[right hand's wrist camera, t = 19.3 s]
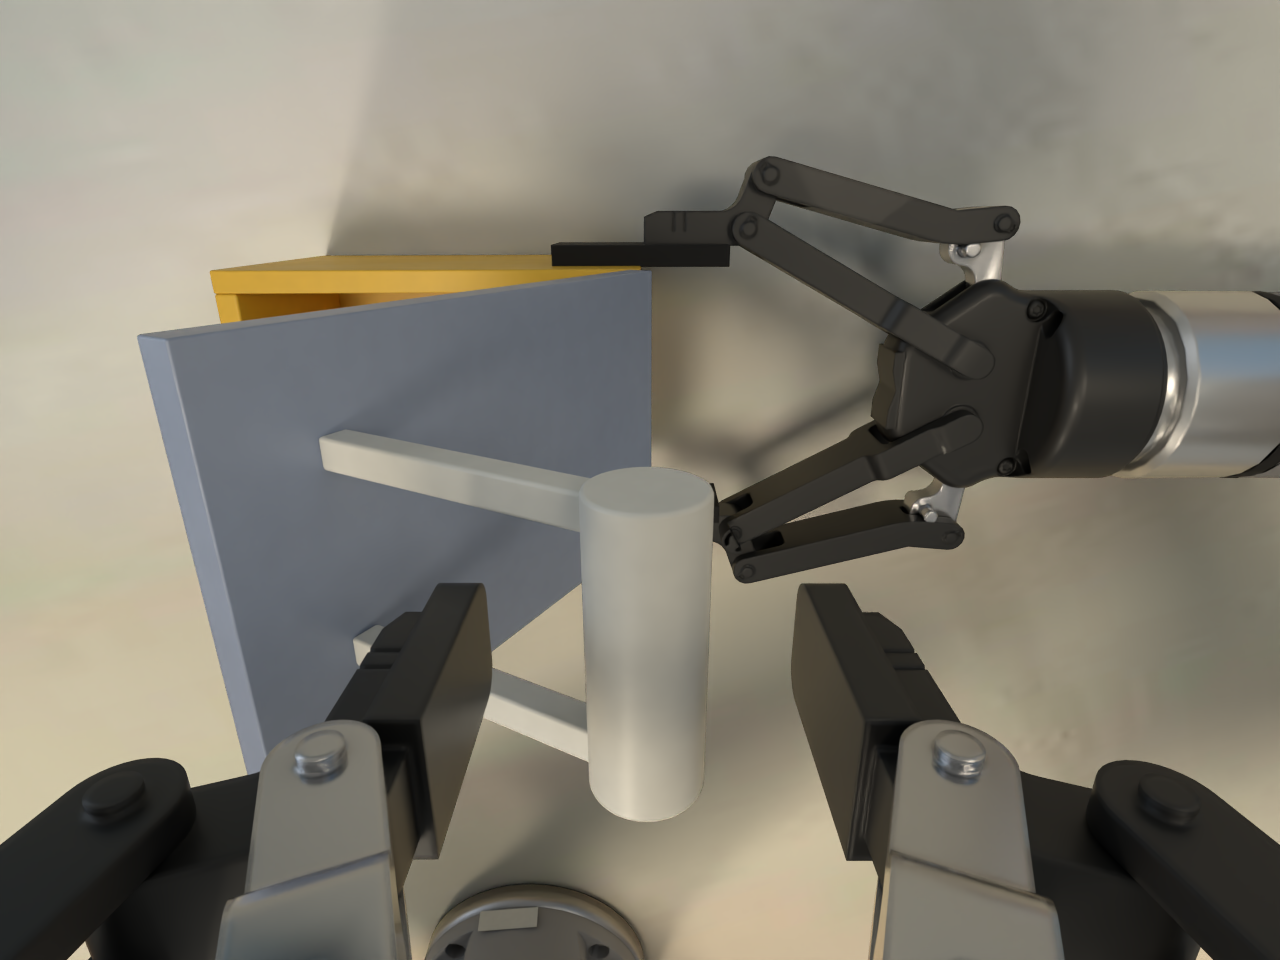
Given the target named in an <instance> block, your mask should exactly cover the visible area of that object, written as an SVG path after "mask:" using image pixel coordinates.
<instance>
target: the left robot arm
mask: <svg viewBox="0 0 1280 960" xmlns="http://www.w3.org/2000/svg"><path fill="white" fill-rule="evenodd" d="M775 201H780V202H783V203H787V204H790V205H793V206H797V207H800V208H804V209H807V210H811V211H814V212H818V213H821V214H825V215H828V216H831V217H835V218H838V219H842V220H845V221H849V222H852V223H856V224H859V225H863V226H866V227H869V228H873V229H876V230H880V231H883V232H887V233H890V234H894V235H897V236H901V237H904V238H907V239H912V240H916V241H922V242H932V243H940V246H939V251H940V256H941V258H942V259H943V260H944V261H945V262H947V263H950V264H956V265H958V266H960V267H961V268H962V269H963V271H964V274H965V280H964V281H963V282H961V283H959V284H958V285H956V286H955V287H953V288H952V289H950V290H949V291H947V292H946V293H945V294H943V295H942V296H940V297H939V298H937V299H936V300H934V301H933V302H931V303H930V304H928V305H927V306H925V307H924V308H922V309H921V310H920V309H918V308H917V307H915V306H913V305H912V304H910V303H908V302H906V301H904V300H902V299H900V298H898V297H896V296H895V295H893V294H891V293H890V292H888V291H886V290H885V289H883V288H881V287H880V286H878V285H876V284H875V283H873V282H871V281H870V280H868V279H866V278H865V277H863V276H861V275H860V274H858V273H856V272H855V271H853V270H851V269H850V268H848V267H846V266H845V265H843V264H841V263H840V262H838V261H836V260H835V259H833V258H831V257H830V256H828V255H826V254H825V253H823V252H821V251H820V250H818V249H816V248H815V247H813V246H811V245H810V244H808V243H806V242H805V241H803V240H801V239H800V238H798V237H796V236H795V235H793V234H791V233H790V232H788V231H786V230H785V229H783V228H781V227H780V226H778V225H776V224H775V223H773V222H771V221H770V220H768V219H769V216H770V214H771V211H772V209H773V206H774V204H775ZM1019 226H1020V215H1019V213H1018V211H1017V210H1016V209H1014V208H1013V207H1010V206H980V207H966V208H956V209H951V208H948V207H944V206H941V205H938V204H934V203H931V202H927V201H924V200H921V199H917V198H914V197H911V196H907V195H904V194H900V193H897V192H894V191H890V190H887V189H883V188H880V187H877V186H873V185H870V184H866V183H863V182H860V181H856V180H853V179H850V178H846V177H843V176H839V175H836V174H833V173H829V172H826V171H822V170H819V169H816V168H812V167H809V166H805V165H802V164H799V163H795V162H792V161H789V160H785V159H782V158H778V157H772V156H769V157H766V158H763V159H761V160H759V161H757V162H754V163H753V164H751V165H750V166H749V167H748V169H747V171H746V173H745V178H744V181H743V184H742V186H741V189H740V192H739V194H738V197H737V199H736V201H735V202H734V203H733V204H732V206H730V207H729V208H727V209H725V210H723V211H656V212H654V213H652V214H649V215H647V216H645V217H644V242H559V243H556V244H553V245H551V256H552V266H640V267H729V261H730V246H740V247H742V248H744V249H745V250H747V251H749V252H751V253H752V254H754V255H756V256H757V257H759V258H761V259H762V260H764V261H766V262H768V263H769V264H771V265H773V266H774V267H776V268H778V269H779V270H781V271H783V272H785V273H786V274H788V275H790V276H791V277H793V278H795V279H797V280H798V281H800V282H802V283H803V284H805V285H807V286H808V287H810V288H812V289H814V290H815V291H817V292H819V293H820V294H822V295H824V296H825V297H827V298H829V299H831V300H832V301H834V302H836V303H837V304H839V305H841V306H842V307H844V308H846V309H848V310H849V311H851V312H853V313H854V314H856V315H858V316H859V317H861V318H863V319H864V320H866V321H867V322H869V323H871V324H872V325H874V326H876V327H878V328H879V329H881V330H883V331H884V332H886V333H888V334H889V335H888V336H887V338H886V340H885V342H884V344H879V350H878V358H877V365H878V371H879V378H880V381H879V384H878V387H877V389H876V392H875V394H874V397H873V401H872V410H871V417H872V418H873V419H875V420H874V421H872V422H870V423H868V424H866V425H864V426H861V427H859V428H857V429H856V430H854V431H853V432H852V433H851V434H850V435H849V437H848V438H847V439H845V440H843V441H841V442H839V443H837V444H835V445H833V446H831V447H829V448H827V449H825V450H823V451H821V452H819V453H817V454H815V455H813V456H811V457H809V458H807V459H805V460H803V461H801V462H799V463H797V464H795V465H793V466H791V467H789V468H787V469H785V470H783V471H780V472H778V473H776V474H774V475H772V476H770V477H768V478H766V479H764V480H762V481H760V482H758V483H756V484H754V485H752V486H750V487H748V488H746V489H744V490H742V491H740V492H738V493H736V494H734V495H732V496H730V497H728V498H726V499H724V500H722V501H721V502H719V503H718V499H717V495H716V491H715V487H714V483H709V484H710V485H711V487H712V489H713V491H714V517H713V542H716V543H718V544H720V545H721V546H722V547H723V548H724V549H725V551H726V553H727V556H728V559H729V561H730V564H731V567H732V570H733V574H734V576H735V578H736V579H737V580H738V581H739V582H742V583H753V582H757V581H761V580H766V579H770V578H774V577H779V576H783V575H787V574H792V573H796V572H800V571H805V570H809V569H813V568H817V567H822V566H826V565H830V564H835V563H839V562H843V561H848V560H852V559H856V558H861V557H865V556H869V555H874V554H878V553H882V552H887V551H891V550H895V549H900V548H904V547H920V548H933V549H945V550H949V549H954V548H956V547H958V546H959V545H960V544H961V543H962V542H963V540H964V534H965V533H964V531H963V528H962V527H960V526H959V525H958V524H957V523H956V519H957V515H958V512H959V508H960V504H961V500H962V497H963V493H964V489H965V487H969V486H972V485H974V484H976V483H978V482H980V481H983V480H985V479H989V478H993V477H1015V478H1101V477H1106V476H1110V475H1112V476H1116V477H1120V478H1193V477H1220V478H1238V477H1261V478H1280V292H1261V291H1135V292H1132V293H1129V294H1127V293H1125V292H1121V291H1114V290H1018V289H1015V288H1013V287H1012V286H1010V285H1009V284H1007V283H1006V282H1004V281H1001V277H1002V265H1003V254H1004V242H1005V240H1008V239H1010V238H1011V237H1012V236H1014V235H1015V233H1016V232H1017V230H1018V229H1019ZM918 465H919V466H920V467H921V468H923V469H924V470H925V471H927V472H928V473H929V474H931V475H932V476H933V477H934V479H933V482H932V483H931V484H930V485H929V486H928V487H926V488H924V489H921V490H915V491H909V492H907V493H906V495H905V499H904V500H886V501H880V502H875V503H871V504H867V505H862V506H858V507H854V508H850V509H846V510H842V511H837V512H833V513H829V514H825V515H821V516H816V517H812V518H808V519H804V520H800V521H795V522H791V523H787V522H789V521H791V520H793V519H795V518H797V517H799V516H801V515H804V514H806V513H808V512H810V511H812V510H814V509H816V508H818V507H820V506H822V505H824V504H826V503H828V502H831V501H833V500H835V499H837V498H839V497H841V496H843V495H845V494H847V493H849V492H851V491H853V490H856V489H858V488H860V487H862V486H864V485H866V484H868V483H870V482H872V481H875V480H888V479H891V478H893V477H896V476H898V475H900V474H902V473H904V472H906V471H908V470H910V469H912V468H914V467H916V466H918ZM785 523H787V524H785ZM425 960H644V956H643V951H642V947H641V945H640V942H639V940H638V938H637V936H636V934H635V933H634V931H633V930H632V928H631V927H630V926H629V924H628V923H627V922H626V921H625V920H624V919H623V918H622V917H621V916H620V915H619V914H618V913H616V912H615V911H614V910H612V909H611V908H610V907H608V906H607V905H605V904H603V903H602V902H600V901H598V900H596V899H594V898H592V897H590V896H587V895H585V894H582V893H579V892H576V891H573V890H569V889H565V888H561V887H555V886H548V885H535V884H525V885H512V886H505V887H500V888H495V889H492V890H488V891H485V892H482V893H479V894H477V895H475V896H472V897H470V898H468V899H466V900H465V901H463V902H461V903H460V904H458V905H457V906H456V907H454V908H453V909H452V910H451V911H449V912H448V913H447V914H446V915H445V916H444V917H443V919H442V920H441V921H440V922H439V924H438V925H437V927H436V928H435V930H434V932H433V934H432V937H431V940H430V943H429V946H428V950H427V953H426V957H425Z"/></svg>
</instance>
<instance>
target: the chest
mask: <svg viewBox="0 0 1280 960" xmlns="http://www.w3.org/2000/svg"><path fill="white" fill-rule="evenodd" d="M625 270H641V267H640V266H552V256H551V255H375V256H319V257H310V258H303V259H295V260H287V261H280V262H272V263H264V264H257V265H249V266H241V267H234V268H226V269H219V270H211V271H210V275H211V280H212V285H213V290H214V293H216V296H215V297H216V302H217V307H218V312H219V316H220V321H221V324H223V323H230V322H238V321H245V320H253V319H261V318H268V317H276V316H283V315H291V314H299V313H306V312H314V311H321V310H329V309H336V308H344V307H352V306H359V305H367V304H374V303H382V302H390V301H397V300H405V299H412V298H420V297H428V296H435V295H443V294H450V293H458V292H466V291H473V290H481V289H488V288H496V287H504V286H511V285H519V284H526V283H534V282H542V281H549V280H557V279H564V278H572V277H579V276H587V275H595V274H602V273H610V272H617V271H625Z"/></svg>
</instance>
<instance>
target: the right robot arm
mask: <svg viewBox="0 0 1280 960" xmlns="http://www.w3.org/2000/svg"><path fill="white" fill-rule="evenodd" d="M791 679H792V688H793V694H794V698H795V702H796V705H797V708H798V711H799V714H800V717H801V721H802V724H803V727H804V730H805V733H806V736H807V739H808V742H809V746H810V749H811V752H812V755H813V758H814V761H815V764H816V767H817V770H818V774H819V777H820V780H821V783H822V786H823V789H824V792H825V795H826V798H827V802H828V805H829V808H830V811H831V814H832V817H833V820H834V823H835V827H836V830H837V833H838V836H839V839H840V842H841V845H842V848H843V851H844V855H845V858H846V861H873V864H874V866H875V869H876V872H877V875H878V881H877V887H876V893H875V900H874V909H873V918H872V927H871V936H870V946H869V955H868V960H1196V957H1197V955H1198V952H1199V950H1200V947H1201V948H1202V949H1203V950H1204V951H1205V952H1206V953H1207V954H1208V955H1209V956H1210V957H1211V958H1212V959H1213V960H1280V845H1279V844H1278V843H1277V842H1275V841H1274V840H1273V839H1272V838H1270V837H1269V836H1268V835H1267V834H1265V833H1264V832H1263V831H1262V830H1260V829H1259V828H1258V827H1256V826H1255V825H1254V824H1253V823H1251V822H1250V821H1249V820H1248V819H1246V818H1245V817H1244V816H1243V815H1241V814H1240V813H1239V812H1238V811H1236V810H1235V809H1234V808H1233V807H1231V806H1230V805H1229V804H1227V803H1226V802H1225V801H1224V800H1222V799H1221V798H1220V797H1219V796H1217V795H1216V794H1215V793H1213V792H1212V791H1211V790H1209V789H1208V788H1206V787H1205V786H1203V785H1202V784H1200V783H1198V782H1197V781H1195V780H1193V779H1191V778H1189V777H1187V776H1185V775H1183V774H1181V773H1179V772H1176V771H1174V770H1171V769H1169V768H1166V767H1163V766H1160V765H1156V764H1152V763H1148V762H1142V761H1134V760H1121V761H1114V762H1111V763H1108V764H1106V765H1104V766H1102V767H1101V768H1100V769H1099V770H1098V773H1097V775H1096V778H1095V781H1094V785H1093V788H1092V789H1090V788H1086V787H1082V786H1077V785H1073V784H1068V783H1064V782H1060V781H1055V780H1051V779H1046V778H1042V777H1038V776H1035V775H1031V774H1028V773H1025V772H1022V771H1020V769H1019V766H1018V764H1017V762H1016V760H1015V758H1014V757H1013V755H1012V754H1011V753H1010V751H1009V750H1008V749H1007V748H1006V747H1005V746H1004V745H1003V744H1001V743H1000V742H999V741H997V740H996V739H995V738H993V737H991V736H990V735H988V734H987V733H985V732H983V731H981V730H979V729H976V728H974V727H971V726H969V725H966V724H962V723H961V722H960V721H959V719H958V717H957V716H956V714H955V713H954V711H953V710H952V708H951V706H950V705H949V703H948V702H947V700H946V699H945V697H944V695H943V694H942V692H941V691H940V689H939V688H938V686H937V684H936V683H935V681H934V680H933V678H932V677H931V675H930V673H929V672H928V670H925V667H924V664H923V662H922V661H921V659H920V658H919V656H918V654H917V653H914V648H913V647H912V645H911V643H910V642H909V640H908V639H907V637H906V636H905V634H904V632H903V631H902V629H900V628H899V627H898V626H896V625H895V624H893V623H892V622H891V621H889V620H888V619H887V618H885V617H884V616H883V615H881V614H880V613H878V612H862V611H861V609H860V608H859V606H858V604H857V602H856V600H855V599H854V597H853V595H852V593H851V592H850V590H849V588H848V586H847V585H846V584H801V585H800V586H799V589H798V594H797V603H796V614H795V625H794V637H793V648H792V659H791ZM491 683H492V654H491V642H490V630H489V619H488V607H487V596H486V590H485V587H484V584H483V583H438V584H437V586H436V587H435V589H434V591H433V593H432V594H431V596H430V598H429V600H428V602H427V603H426V605H425V607H424V609H423V611H422V612H404V613H403V614H402V615H400V616H399V617H398V618H396V619H395V620H394V621H392V622H391V623H389V624H388V625H387V626H385V627H384V628H383V629H382V630H381V632H380V633H379V635H378V637H377V638H376V640H375V641H374V643H373V645H372V646H371V648H370V652H368V653H367V654H366V656H365V657H364V659H363V661H362V662H361V664H360V669H357V670H356V672H355V673H354V675H353V677H352V678H351V680H350V681H349V683H348V685H347V686H346V688H345V689H344V691H343V693H342V694H341V696H340V697H339V699H338V701H337V702H336V704H335V705H334V707H333V709H332V710H331V712H330V713H329V715H328V716H327V718H326V720H325V721H324V722H321V723H318V724H314V725H311V726H309V727H306V728H304V729H301V730H299V731H297V732H295V733H293V734H292V735H290V736H288V737H287V738H285V739H284V740H283V741H281V742H280V743H279V744H277V745H276V746H275V747H274V748H273V749H272V750H271V751H270V753H269V754H268V755H267V757H266V758H265V760H264V762H263V764H262V766H261V769H260V771H259V772H257V773H253V774H250V775H246V776H242V777H237V778H233V779H229V780H224V781H220V782H215V783H211V784H207V785H202V786H198V787H193V788H190V784H189V780H188V777H187V773H186V771H185V769H184V768H183V767H182V766H181V765H180V764H179V763H177V762H175V761H173V760H169V759H163V758H146V759H139V760H134V761H130V762H126V763H122V764H119V765H116V766H113V767H111V768H108V769H106V770H103V771H101V772H99V773H97V774H95V775H93V776H91V777H89V778H87V779H86V780H84V781H82V782H81V783H79V784H77V785H76V786H75V787H73V788H72V789H71V790H69V791H68V792H66V793H65V794H64V795H63V796H61V797H60V798H59V799H58V800H56V801H55V802H54V803H53V804H51V805H50V806H49V807H48V808H46V809H45V810H44V811H42V812H41V813H40V814H39V815H37V816H36V817H35V818H34V819H32V820H31V821H30V822H29V823H27V824H26V825H25V826H24V827H22V828H21V829H20V830H18V831H17V832H16V833H15V834H13V835H12V836H11V837H10V838H8V839H7V840H6V841H5V842H3V843H2V844H1V845H0V960H67V959H68V958H69V957H70V956H71V955H72V954H73V953H74V952H75V951H76V950H77V949H78V948H79V947H80V946H81V945H82V944H83V943H84V942H86V945H87V947H88V950H89V952H90V955H91V957H90V958H89V959H88V960H412V955H411V946H410V936H409V927H408V918H407V909H406V900H405V893H404V887H403V885H404V882H405V879H406V877H407V874H408V871H409V868H410V865H411V862H412V860H413V859H439V855H440V852H441V849H442V846H443V843H444V840H445V836H446V833H447V830H448V827H449V824H450V820H451V817H452V814H453V811H454V808H455V805H456V801H457V798H458V795H459V792H460V789H461V785H462V782H463V779H464V776H465V773H466V770H467V766H468V763H469V760H470V757H471V754H472V750H473V747H474V744H475V741H476V738H477V735H478V731H479V728H480V725H481V722H482V719H483V715H484V712H485V709H486V706H487V703H488V699H489V696H490V690H491Z"/></svg>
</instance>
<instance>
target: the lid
mask: <svg viewBox="0 0 1280 960" xmlns="http://www.w3.org/2000/svg"><path fill="white" fill-rule="evenodd" d="M651 330H652V272H651V271H650V270H625V271H617V272H610V273H602V274H595V275H587V276H579V277H572V278H564V279H557V280H549V281H542V282H534V283H526V284H519V285H511V286H504V287H496V288H488V289H481V290H473V291H466V292H458V293H450V294H443V295H435V296H428V297H420V298H412V299H405V300H397V301H390V302H382V303H374V304H367V305H359V306H352V307H344V308H336V309H329V310H321V311H314V312H306V313H299V314H291V315H283V316H276V317H268V318H261V319H253V320H245V321H238V322H230V323H223V324H215V325H207V326H200V327H192V328H185V329H177V330H169V331H162V332H154V333H147V334H140V335H138V336H137V339H138V343H139V347H140V351H141V355H142V359H143V363H144V367H145V371H146V375H147V379H148V383H149V386H150V390H151V394H152V398H153V402H154V406H155V410H156V414H157V418H158V422H159V426H160V430H161V434H162V438H163V442H164V446H165V450H166V454H167V458H168V462H169V466H170V469H171V473H172V477H173V481H174V485H175V489H176V493H177V497H178V501H179V505H180V509H181V513H182V517H183V521H184V525H185V529H186V533H187V537H188V541H189V545H190V549H191V552H192V556H193V560H194V564H195V568H196V572H197V576H198V580H199V584H200V588H201V592H202V596H203V600H204V604H205V608H206V612H207V616H208V620H209V624H210V628H211V632H212V635H213V639H214V643H215V647H216V651H217V655H218V659H219V663H220V667H221V671H222V675H223V679H224V683H225V687H226V691H227V695H228V699H229V703H230V707H231V711H232V714H233V718H234V722H235V726H236V730H237V734H238V738H239V742H240V746H241V750H242V754H243V758H244V762H245V766H246V770H247V774H248V775H250V774H253V773H257V772H259V771H260V769H261V766H262V764H263V762H264V760H265V758H266V757H267V755H268V754H269V753H270V751H271V750H272V749H273V748H274V747H275V746H276V745H277V744H279V743H280V742H281V741H283V740H284V739H285V738H287V737H288V736H290V735H292V734H293V733H295V732H297V731H299V730H301V729H304V728H306V727H309V726H311V725H314V724H318V723H321V722H324V721H325V720H326V718H327V716H328V715H329V713H330V712H331V710H332V709H333V707H334V705H335V704H336V702H337V701H338V699H339V697H340V696H341V694H342V693H343V691H344V689H345V688H346V686H347V685H348V683H349V681H350V680H351V678H352V677H353V675H354V673H355V672H356V670H357V669H360V664H361V662H362V661H363V659H364V657H365V656H366V654H367V653H368V652H370V648H371V646H372V645H373V643H374V641H375V640H376V638H377V637H378V635H379V633H380V632H381V630H382V629H383V628H384V627H385V626H387V625H388V624H389V623H391V622H392V621H394V620H395V619H396V618H398V617H399V616H400V615H402V614H403V613H404V612H422V611H423V609H424V607H425V605H426V603H427V602H428V600H429V598H430V596H431V594H432V593H433V591H434V589H435V587H436V586H437V584H438V583H483V584H484V587H485V590H486V596H487V607H488V619H489V630H490V642H491V652H492V651H493V650H495V649H496V648H497V647H498V646H500V645H501V644H502V643H504V642H505V641H506V640H508V639H509V638H510V637H511V636H513V635H514V634H515V633H517V632H518V631H519V630H521V629H522V628H523V627H525V626H526V625H527V624H528V623H530V622H531V621H532V620H534V619H535V618H536V617H538V616H539V615H540V614H541V613H543V612H544V611H545V610H547V609H548V608H549V607H551V606H552V605H553V604H554V603H556V602H557V601H558V600H560V599H561V598H562V597H564V596H565V595H566V594H568V593H569V592H570V591H571V590H573V589H574V588H575V587H577V586H578V585H579V584H581V583H582V602H583V629H584V656H585V684H586V703H585V702H582V701H580V700H577V699H574V698H572V697H569V696H566V695H564V694H561V693H558V692H556V691H553V690H550V689H548V688H545V687H542V686H540V685H537V684H534V683H532V682H529V681H526V680H524V679H521V678H518V677H516V676H513V675H510V674H508V673H505V672H502V671H500V670H497V669H494V668H492V683H491V690H490V696H489V699H488V703H487V706H486V709H485V712H484V715H483V718H485V719H487V720H489V721H492V722H494V723H496V724H499V725H501V726H504V727H506V728H508V729H511V730H513V731H515V732H518V733H520V734H523V735H525V736H527V737H530V738H532V739H534V740H537V741H539V742H542V743H544V744H546V745H549V746H551V747H553V748H556V749H558V750H561V751H563V752H565V753H568V754H570V755H572V756H575V757H577V758H579V759H582V760H584V761H587V762H588V765H589V783H590V787H591V790H592V792H593V794H594V796H595V797H596V799H597V800H598V802H599V803H600V804H601V805H602V806H603V807H604V808H605V809H607V810H608V811H609V812H611V813H613V814H615V815H616V816H619V817H621V818H624V819H627V820H631V821H637V822H657V821H662V820H666V819H670V818H672V817H675V816H677V815H679V814H681V813H682V812H684V811H685V810H687V809H688V808H689V807H690V806H691V805H692V804H693V803H694V802H695V801H696V799H697V798H698V796H699V794H700V792H701V791H702V787H703V783H704V766H705V738H706V711H707V683H708V655H709V628H710V600H711V572H712V545H713V517H714V491H713V489H712V487H711V485H710V484H709V483H708V482H707V481H706V480H704V479H703V478H701V477H699V476H697V475H694V474H691V473H688V472H685V471H680V470H676V469H670V468H661V467H651Z"/></svg>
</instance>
